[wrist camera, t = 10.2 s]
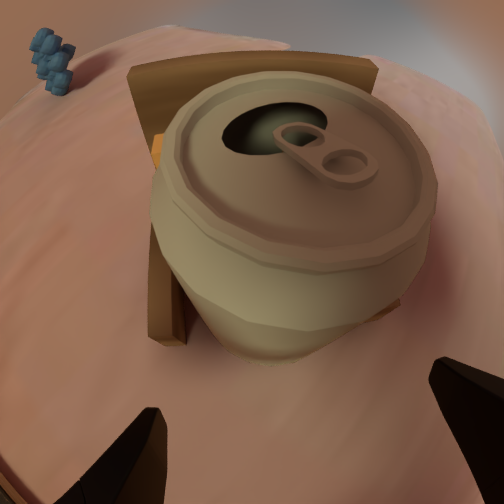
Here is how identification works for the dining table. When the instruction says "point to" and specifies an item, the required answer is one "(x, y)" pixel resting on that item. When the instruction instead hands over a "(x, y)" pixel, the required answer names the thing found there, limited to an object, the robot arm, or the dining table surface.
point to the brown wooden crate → (181, 92)
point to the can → (291, 210)
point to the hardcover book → (9, 493)
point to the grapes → (52, 60)
